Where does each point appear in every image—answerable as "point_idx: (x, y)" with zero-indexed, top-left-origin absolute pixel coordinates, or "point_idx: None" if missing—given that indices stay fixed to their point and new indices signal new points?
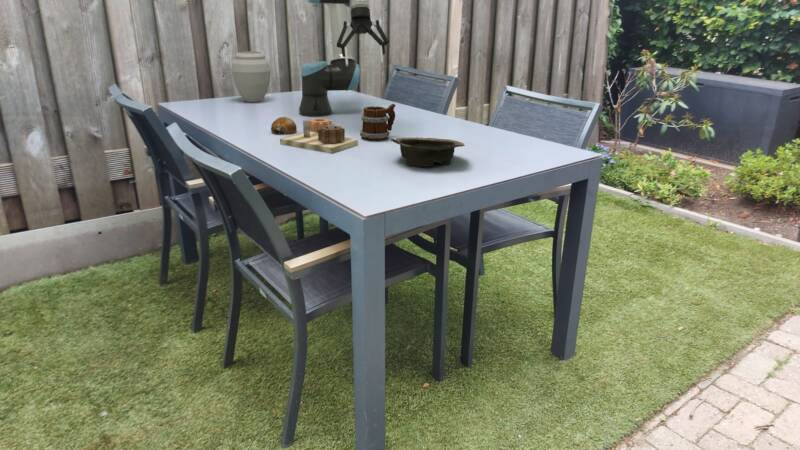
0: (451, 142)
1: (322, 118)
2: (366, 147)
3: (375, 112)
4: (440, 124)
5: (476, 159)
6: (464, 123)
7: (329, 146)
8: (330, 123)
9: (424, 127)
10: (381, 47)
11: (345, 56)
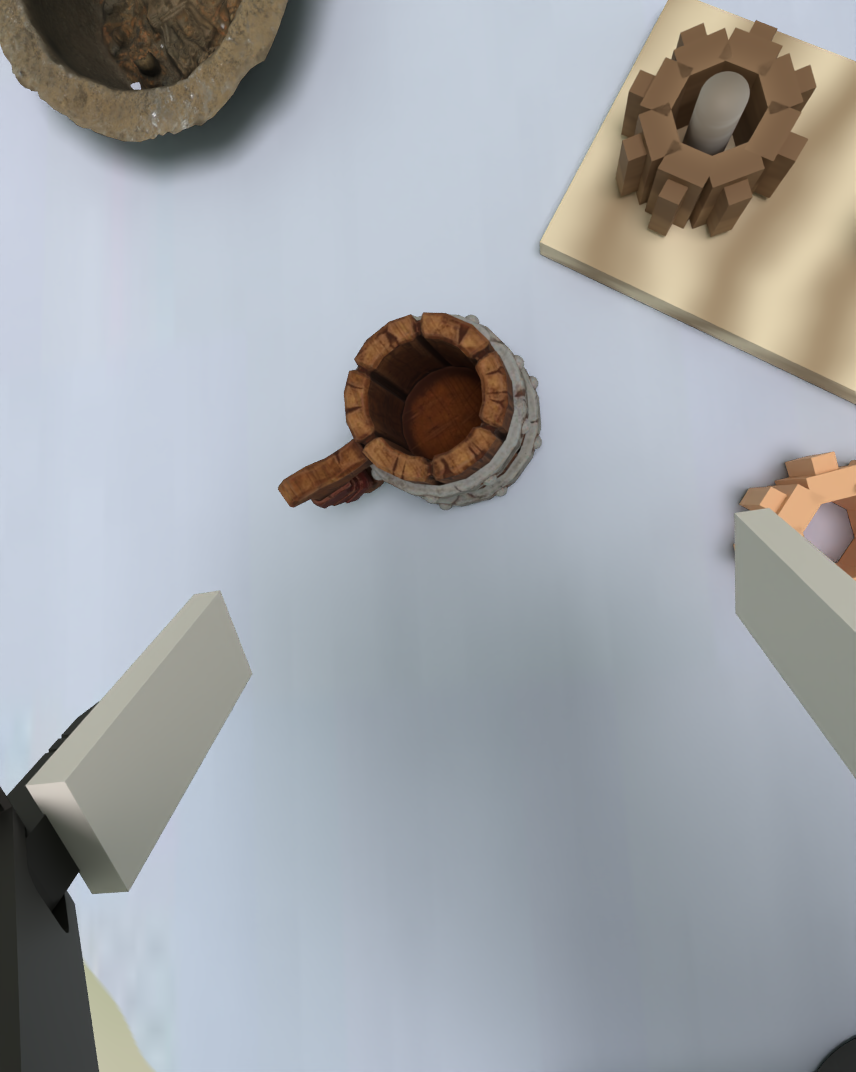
0: (38, 29)
1: None
2: (488, 203)
3: (416, 321)
4: None
5: (2, 96)
6: None
7: (694, 24)
8: None
9: None
10: (66, 750)
11: (835, 564)
